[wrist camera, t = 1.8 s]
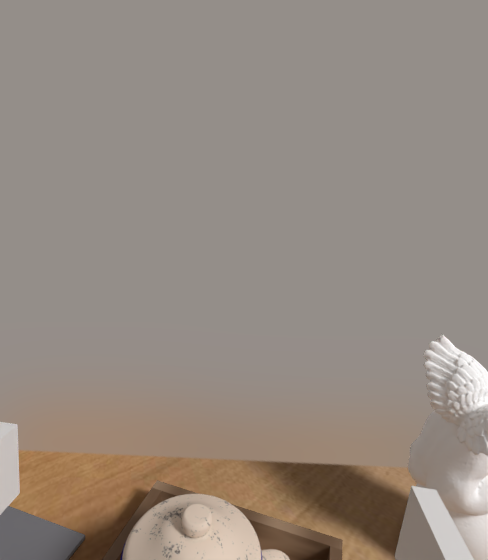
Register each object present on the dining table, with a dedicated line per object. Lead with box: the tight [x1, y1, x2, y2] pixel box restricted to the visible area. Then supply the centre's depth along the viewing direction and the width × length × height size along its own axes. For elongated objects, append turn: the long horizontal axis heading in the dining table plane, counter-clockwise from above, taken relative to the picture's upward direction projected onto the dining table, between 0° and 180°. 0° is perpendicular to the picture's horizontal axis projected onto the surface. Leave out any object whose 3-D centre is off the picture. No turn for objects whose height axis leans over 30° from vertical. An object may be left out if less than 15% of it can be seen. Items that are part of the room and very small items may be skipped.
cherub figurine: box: [399, 334, 488, 560], centre depth 31 cm, size 12×12×22 cm
